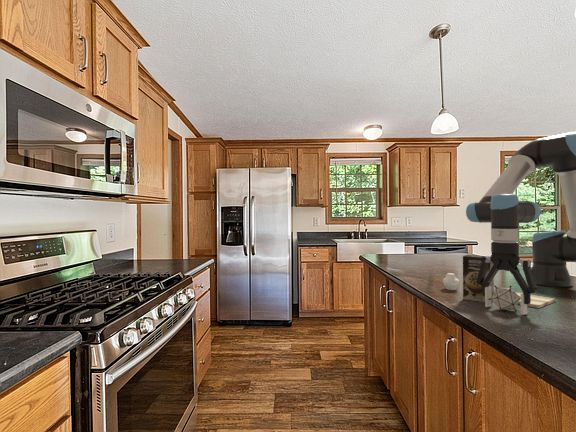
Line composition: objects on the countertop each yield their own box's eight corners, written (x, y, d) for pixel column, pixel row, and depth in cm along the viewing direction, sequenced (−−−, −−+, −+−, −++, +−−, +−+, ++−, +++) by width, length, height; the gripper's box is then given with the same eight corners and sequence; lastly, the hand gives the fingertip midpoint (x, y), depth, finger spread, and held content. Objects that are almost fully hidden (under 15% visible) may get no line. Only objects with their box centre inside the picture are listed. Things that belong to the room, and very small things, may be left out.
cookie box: (462, 299, 120) (461, 256, 120) (467, 296, 125) (466, 254, 125) (490, 303, 114) (490, 257, 114) (494, 299, 119) (494, 255, 119)
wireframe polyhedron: (506, 320, 108) (517, 294, 110) (521, 319, 100) (533, 290, 102) (479, 305, 110) (491, 280, 112) (492, 303, 102) (504, 275, 104)
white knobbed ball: (441, 289, 136) (440, 273, 136) (445, 287, 141) (445, 270, 141) (457, 291, 132) (457, 274, 132) (461, 289, 137) (460, 272, 137)
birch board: (514, 294, 126) (514, 291, 126) (555, 301, 115) (555, 298, 115) (496, 300, 119) (496, 297, 119) (538, 308, 108) (538, 305, 108)
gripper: (464, 240, 113) (464, 304, 113) (540, 244, 94) (541, 321, 94) (475, 239, 117) (476, 300, 117) (551, 243, 98) (552, 316, 98)
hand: (505, 309), depth 106 cm, fingers open, 10 cm apart
